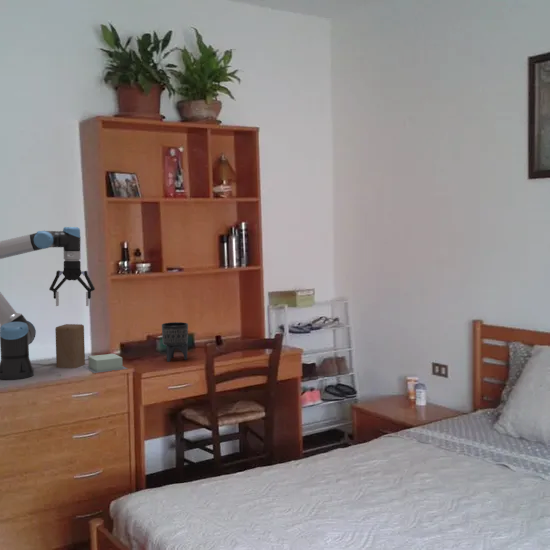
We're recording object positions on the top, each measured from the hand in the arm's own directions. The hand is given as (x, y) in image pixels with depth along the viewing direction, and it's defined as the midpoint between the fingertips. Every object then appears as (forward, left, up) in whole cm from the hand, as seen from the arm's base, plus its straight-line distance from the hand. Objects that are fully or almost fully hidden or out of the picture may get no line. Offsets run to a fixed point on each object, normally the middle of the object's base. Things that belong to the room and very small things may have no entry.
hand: (72, 305), depth 314 cm
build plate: (+15, -7, -29) cm, 34 cm away
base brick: (+15, -7, -28) cm, 33 cm away
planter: (+46, +13, -29) cm, 57 cm away
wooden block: (-2, 0, -29) cm, 30 cm away
